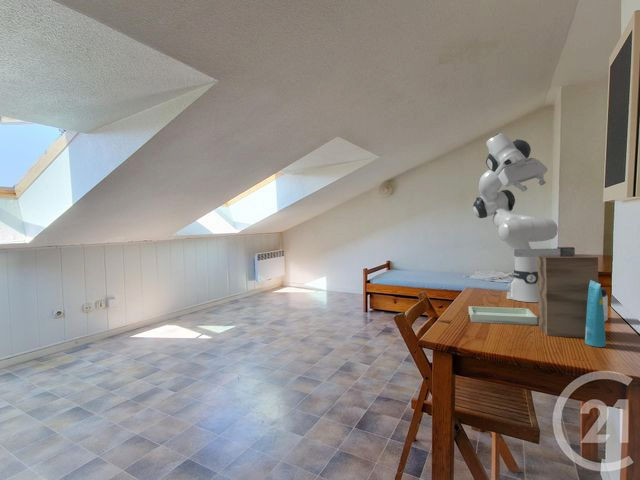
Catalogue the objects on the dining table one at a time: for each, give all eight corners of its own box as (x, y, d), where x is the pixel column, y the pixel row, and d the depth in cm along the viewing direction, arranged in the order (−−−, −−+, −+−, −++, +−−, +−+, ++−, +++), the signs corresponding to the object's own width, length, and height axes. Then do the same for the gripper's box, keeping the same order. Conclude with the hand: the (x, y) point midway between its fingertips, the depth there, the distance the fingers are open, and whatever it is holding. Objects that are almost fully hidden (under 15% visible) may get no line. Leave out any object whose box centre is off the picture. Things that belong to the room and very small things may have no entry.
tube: (611, 349, 96) (611, 284, 96) (592, 348, 98) (591, 284, 97) (597, 340, 103) (597, 279, 103) (579, 340, 105) (579, 279, 104)
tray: (468, 313, 140) (468, 306, 140) (528, 316, 133) (528, 308, 133) (471, 321, 128) (471, 314, 128) (537, 325, 121) (537, 317, 121)
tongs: (514, 256, 118) (514, 247, 118) (571, 255, 112) (571, 246, 112) (516, 256, 115) (515, 248, 115) (574, 256, 109) (574, 247, 109)
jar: (602, 324, 119) (601, 291, 119) (575, 319, 126) (574, 288, 126) (610, 319, 124) (610, 287, 124) (584, 315, 131) (583, 285, 131)
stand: (538, 326, 119) (537, 254, 118) (585, 329, 115) (584, 254, 114) (547, 335, 110) (546, 257, 109) (598, 338, 105) (598, 257, 104)
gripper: (529, 161, 148) (549, 185, 142) (491, 173, 145) (510, 198, 139) (538, 151, 143) (559, 175, 137) (498, 164, 139) (518, 189, 133)
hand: (534, 187), depth 138 cm, fingers open, 8 cm apart
